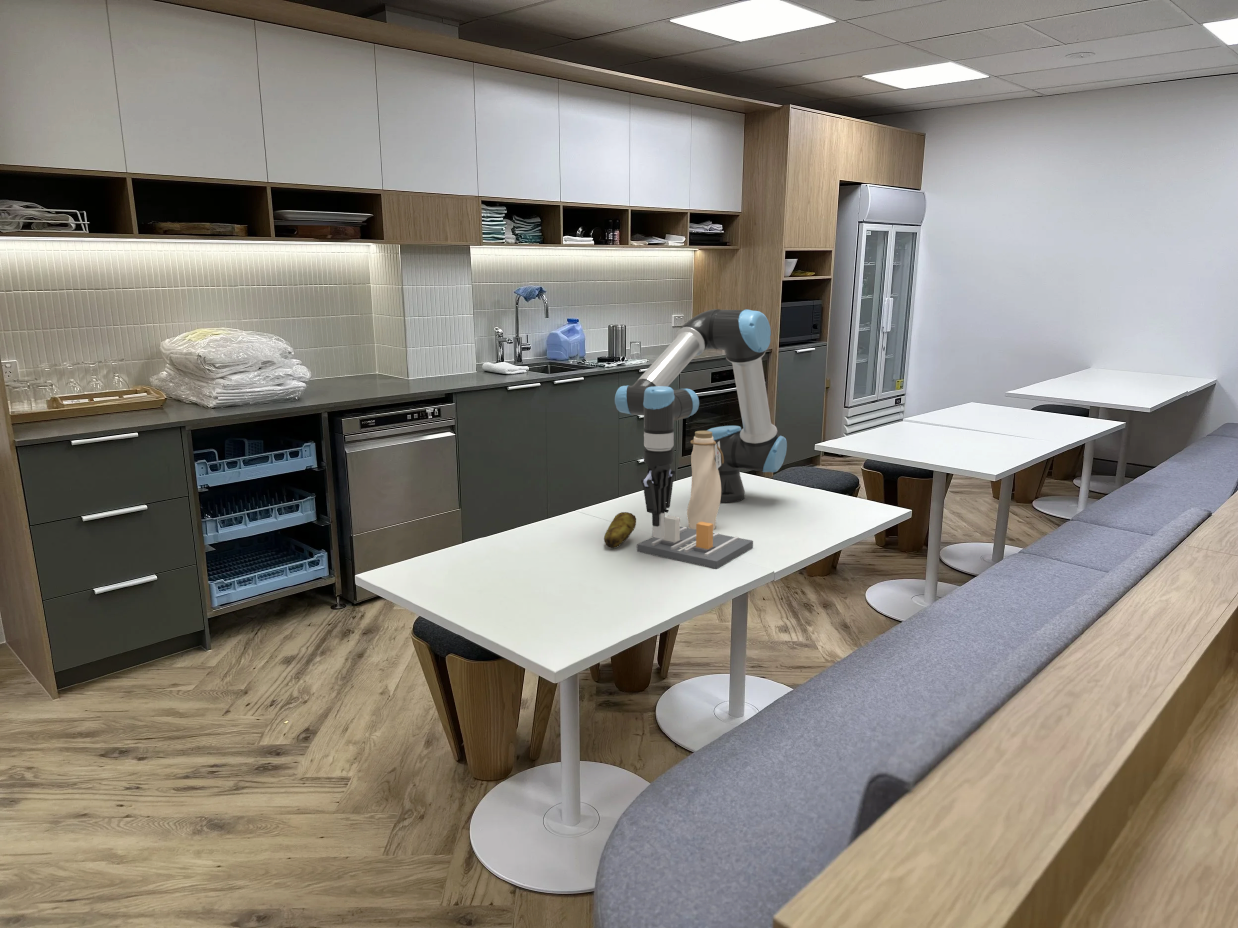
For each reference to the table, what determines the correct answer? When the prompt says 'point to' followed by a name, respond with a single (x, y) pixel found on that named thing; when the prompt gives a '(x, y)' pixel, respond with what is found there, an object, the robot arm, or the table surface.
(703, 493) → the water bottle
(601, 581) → the table surface
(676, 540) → the fader
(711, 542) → the fader
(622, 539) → the potato
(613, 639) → the table surface
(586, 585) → the table surface
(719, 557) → the console
